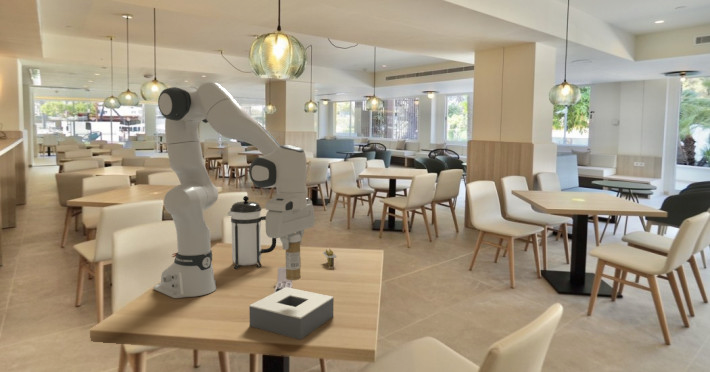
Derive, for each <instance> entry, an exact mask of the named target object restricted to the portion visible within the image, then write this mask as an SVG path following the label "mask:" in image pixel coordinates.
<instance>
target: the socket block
mask: <svg viewBox="0 0 710 372" xmlns="http://www.w3.org/2000/svg"><path fill="white" fill-rule="evenodd" d="M274 292H275V291H274ZM274 292H273V293H271V294H269V295H267V296H265V297H264V298H261V299H259V300H257V301H255V302H253V303H251V304H249V309H248V310H249V327H251V328H255V329H259V330H262V331H267V332H271V333H274V334H277V335H281V336H285V337H289V338H293V339H297V340H302V339H304V338H305V337H306V336H308V335H309V334H311V333H312V332H314V331H315V330H317V329H318V328H320V327H321V326H322V325H324V324H325V323H327V322H328V321H330V320H331V319H332V318H334V298H335V297H334V296H333V295H332V296H331V295H326V294H321V293H318V292H312V291H306V290H302V289H298V288H293V287H292V288H288V287H285V288H283V289H281V290H279V291H277V292H275V293H274Z"/></svg>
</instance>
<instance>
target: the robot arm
mask: <svg viewBox="0 0 710 372" xmlns="http://www.w3.org/2000/svg"><path fill="white" fill-rule="evenodd" d="M157 100H158V101H157V105H158V110H159V112H160V114H161V115H162V117H164V118H165V119H164V133H165V135H164V136H165V143H166V150H167V156H168V160H169V162H168V163H169V166H170V169H171V170H172V171H173V172H174V173H175V174H176V176H177V178H178V180H179V182H180V184H178V185H176V186H174V187H173V188H171V189H169V190H168V191H167V192H166V193H165V194H164V197H163V206H164V209H165V210H166V212H167V213H168V214H169V215H170V216H171V218H172V221H173V223H174V226H175V231H176V232H175V233H176V241H177V244H176V245H177V252H175V253H172V256H171V257H172V258H174V261H173V263H172V264H170V265H169V266H168V267H166V268H165V269H164V270H163V271H162V272H161V274H160V275H161V276H160V277H161V278H160V282H159V283H157V284H155V285H154V286H153V290H155V291H157V292H159V293H161V294H164V295H166V296H168V297H170V298H173V299H180V298H190V297H191V298H192V297H193V298H194V297H199V296H200V297H201V296H204V295H208V294H210V293H213V292H214V291H216V290H217V286H216V284H217V281H216V279H215V274H214V268H213V263H212V262H213V250H212V249H211V229H210V228H209V226H208V224H207V223H206V220H205V217H204V211H205V210H209V209H211V207H212V206H213V205H214V204H216V202H217V201H218V198H219V190H218V187H217V186H216V185H215V184H214V183H213V182H212V180H211V177H210V176H209V172H208V170H207V168H206V165H205V161H204V156H203V151H202V143H201V139H200V134H199V125H200V123H201V122H202V123H205V124H208V123H209V125H210V126H211V128H212V129H213V130H214V131H215V132H216V133H218V134H219V135H221V136H222V137H223V138H227V139H232V140H236V141H241V142H244V143H247V144H249V145H251V146H253V147H254V148H256V149H258V151H259V152H260V154H262V156H259V157H256V158H253V160H252V161H251V163H250V165H249V169H248V170H249V171H248V173H249V178H250V180H251V183H253V185H254V186H256V187H258V188H260V189H269V188H276V195H274V196H273V197H272V198H271V199H269V200H268V201H267V202H265V205H264V207H265V210H266V211H267V212H266V214H265V216H266V220H265V234H266V237H268V238H269V239H270V238H271V239H272V238H276V239H278V238H279V240H280V241H281V244H282V245H281V246H282V250H285V251H286V250H288V249H290V243H288V240H287V238H288V235H289V234H292V233H297V234H300V236H301V241H300V246H301V245H302V240H303V237H304V233H305V230H307V229H310V228H313V227H314V226H315V223H316V216H315V215H316V214H315V208H314V204H313V201H312V199H311V198H310V197H308V187H307V185H306V182H307V178H308V165H307V161H308V160H307V156H306V152H305V149H303V148H302V147H299V146H296V145H289V144H280V143H279V141H277V139H275V137H274V136H273V135H272V134H271V133H270V132H269V131H268V130H267V129H266V128H265V127H264V126H263V125H262V124H261V123H259V122H258V121H257V120H255V118H253V117H252V116H251V115H250V114H249V113H248V112H247V111H246V110H245V109H244V108H243V107H242V106H241V105H240V104H239V103H238V101H237V100H236V99H235V97H234V96H232V94H231V93H230V92H229V91H228V90H227V89H226V88H224V87H223V86H222V85H221V84H220V83H218V82H216V81H207V82H204V83H202V84H200V85H199V86H184V87H183V86H182V87H176V86H173V87H168V88H165V89H163V90H162V91H161V92H160V94H159V96H158V99H157Z"/></svg>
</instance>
